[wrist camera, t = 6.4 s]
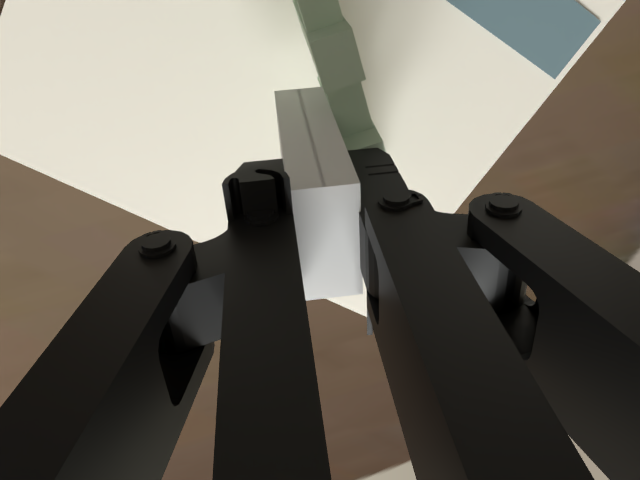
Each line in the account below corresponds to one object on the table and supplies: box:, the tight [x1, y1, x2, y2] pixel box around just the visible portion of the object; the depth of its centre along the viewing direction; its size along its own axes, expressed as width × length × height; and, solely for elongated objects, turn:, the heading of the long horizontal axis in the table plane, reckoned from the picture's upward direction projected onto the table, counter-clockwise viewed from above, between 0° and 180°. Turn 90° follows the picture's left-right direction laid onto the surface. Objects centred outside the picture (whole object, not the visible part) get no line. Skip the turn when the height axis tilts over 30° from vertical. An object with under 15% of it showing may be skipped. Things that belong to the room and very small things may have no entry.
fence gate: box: [293, 0, 386, 152], centre depth 17 cm, size 11×1×7 cm, turn 17°
